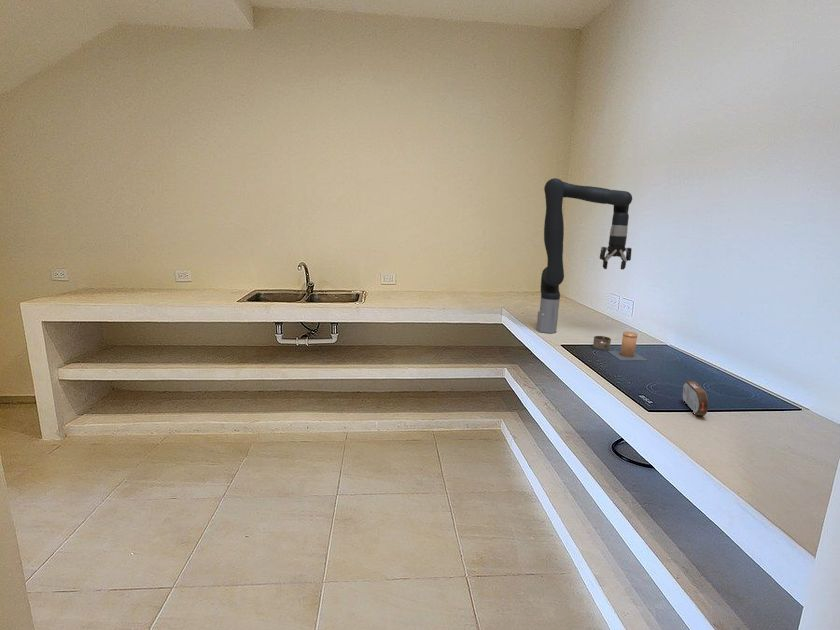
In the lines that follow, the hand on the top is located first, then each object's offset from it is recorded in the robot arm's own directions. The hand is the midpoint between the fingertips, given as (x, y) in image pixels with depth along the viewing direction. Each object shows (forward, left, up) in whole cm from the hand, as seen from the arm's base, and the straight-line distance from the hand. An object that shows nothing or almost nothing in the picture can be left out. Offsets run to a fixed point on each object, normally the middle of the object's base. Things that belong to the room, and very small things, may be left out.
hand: (613, 269), depth 228 cm
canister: (-10, -18, -34) cm, 40 cm away
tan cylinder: (-3, -29, -34) cm, 45 cm away
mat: (-3, -29, -34) cm, 45 cm away
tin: (-9, -83, -34) cm, 90 cm away
